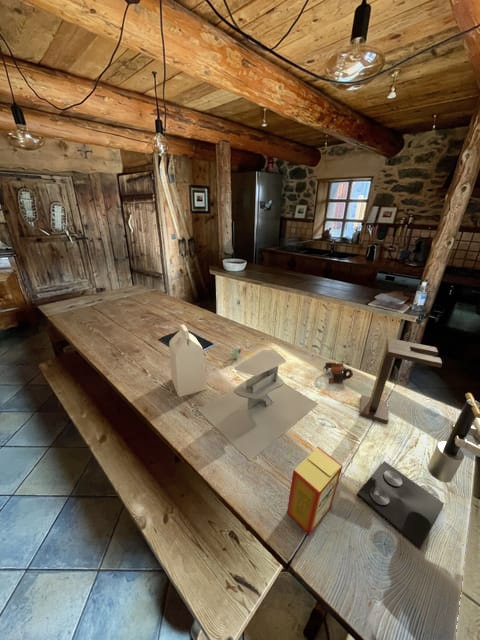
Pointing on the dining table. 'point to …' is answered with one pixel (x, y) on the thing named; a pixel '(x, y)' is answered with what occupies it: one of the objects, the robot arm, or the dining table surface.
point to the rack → (397, 349)
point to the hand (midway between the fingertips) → (453, 433)
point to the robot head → (236, 352)
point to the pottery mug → (338, 372)
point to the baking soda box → (313, 489)
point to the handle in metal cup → (453, 443)
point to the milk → (187, 363)
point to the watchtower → (257, 406)
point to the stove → (401, 503)
